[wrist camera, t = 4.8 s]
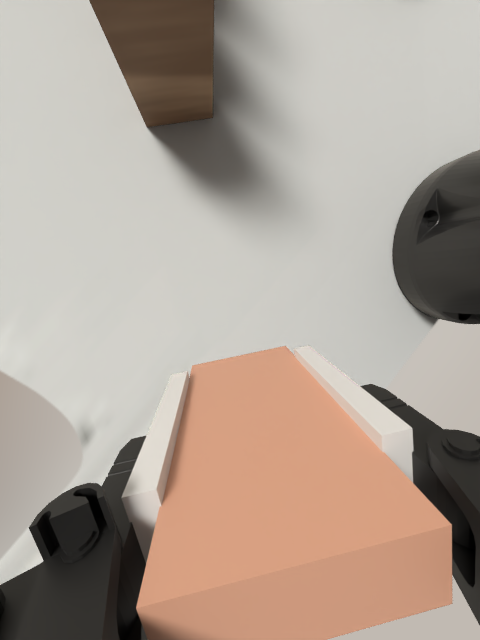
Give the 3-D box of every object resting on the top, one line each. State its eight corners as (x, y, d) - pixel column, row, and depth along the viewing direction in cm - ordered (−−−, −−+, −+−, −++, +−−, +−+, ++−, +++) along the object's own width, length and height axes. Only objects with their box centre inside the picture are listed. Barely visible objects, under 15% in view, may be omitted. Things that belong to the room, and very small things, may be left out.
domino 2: (192, 365, 14) (136, 608, 4) (285, 345, 14) (452, 524, 4) (199, 395, 14) (165, 685, 4) (290, 375, 14) (451, 603, 5)
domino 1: (140, 100, 19) (69, -72, 10) (207, 91, 20) (205, -84, 10) (146, 127, 20) (83, -12, 10) (212, 117, 20) (214, -26, 10)
